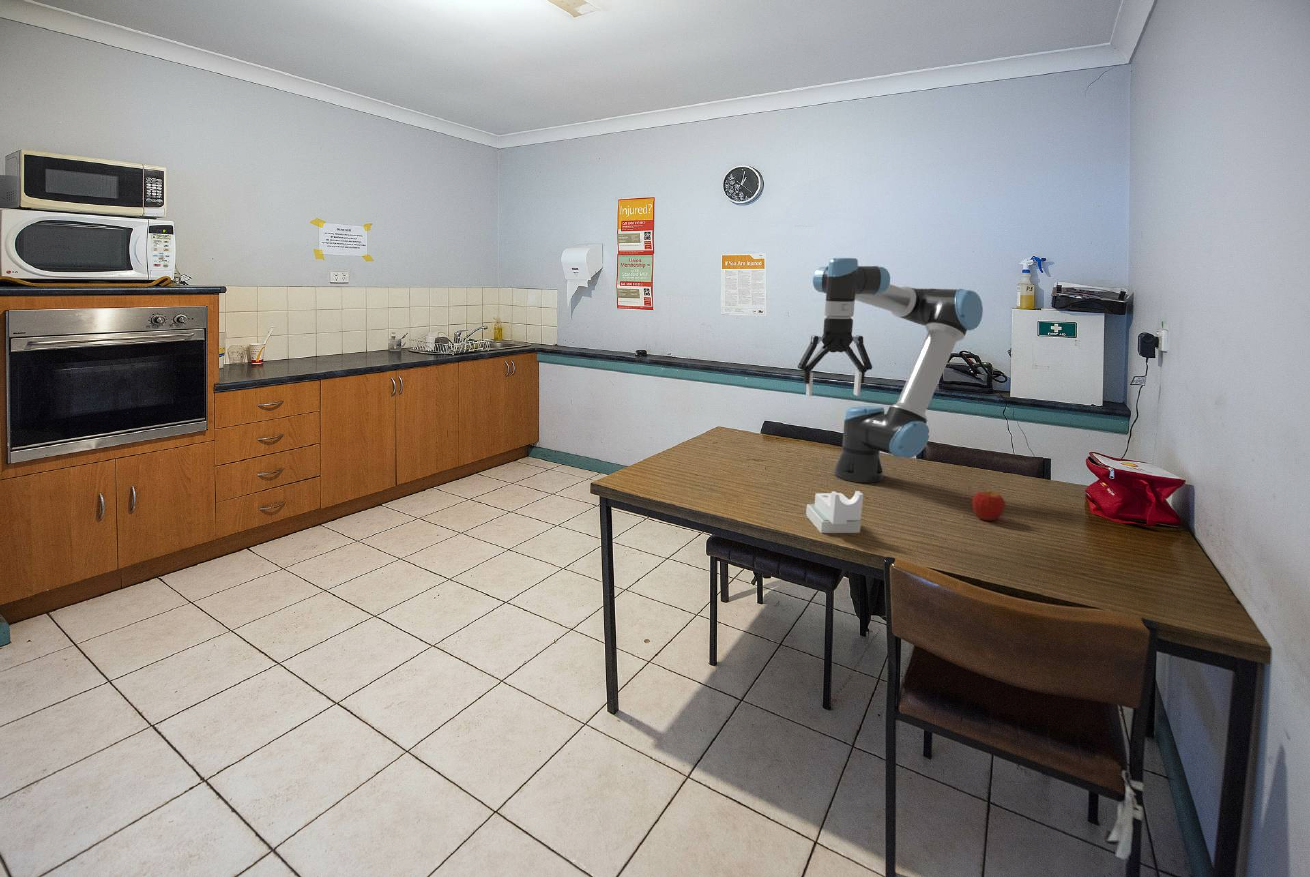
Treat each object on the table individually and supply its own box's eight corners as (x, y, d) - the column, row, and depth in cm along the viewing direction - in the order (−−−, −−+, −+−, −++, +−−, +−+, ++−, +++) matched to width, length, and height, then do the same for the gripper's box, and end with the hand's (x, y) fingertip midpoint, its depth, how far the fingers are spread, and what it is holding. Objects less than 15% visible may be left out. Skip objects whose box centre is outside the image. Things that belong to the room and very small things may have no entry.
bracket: (860, 523, 163) (863, 494, 161) (832, 523, 162) (835, 494, 161) (840, 505, 176) (842, 478, 174) (814, 506, 175) (816, 479, 173)
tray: (842, 514, 179) (843, 503, 178) (859, 532, 166) (861, 520, 165) (806, 514, 178) (807, 503, 177) (821, 532, 165) (822, 520, 164)
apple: (997, 526, 173) (1002, 498, 171) (966, 518, 178) (970, 491, 176) (1005, 518, 179) (1010, 491, 177) (975, 511, 184) (979, 485, 182)
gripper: (797, 318, 172) (792, 398, 177) (889, 318, 174) (881, 397, 179) (789, 316, 179) (784, 393, 184) (877, 316, 181) (870, 392, 187)
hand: (832, 395), depth 182 cm, fingers open, 13 cm apart
